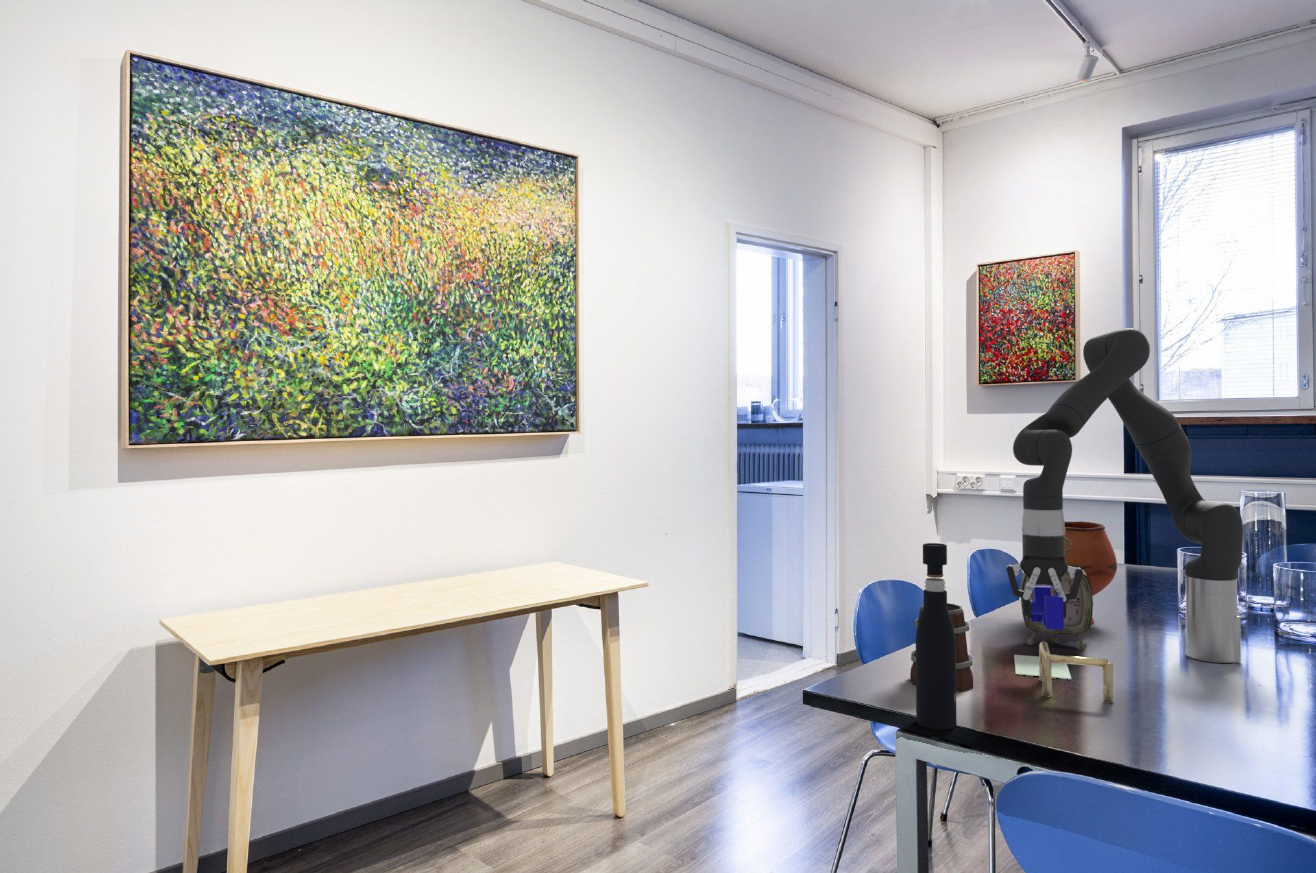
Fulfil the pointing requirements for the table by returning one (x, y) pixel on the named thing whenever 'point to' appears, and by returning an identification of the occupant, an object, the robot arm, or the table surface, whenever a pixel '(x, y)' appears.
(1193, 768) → the table surface
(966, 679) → the mug
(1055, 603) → the cable clip
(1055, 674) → the pad
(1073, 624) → the tabletop clock
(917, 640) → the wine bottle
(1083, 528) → the terracotta pot
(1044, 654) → the wire track
